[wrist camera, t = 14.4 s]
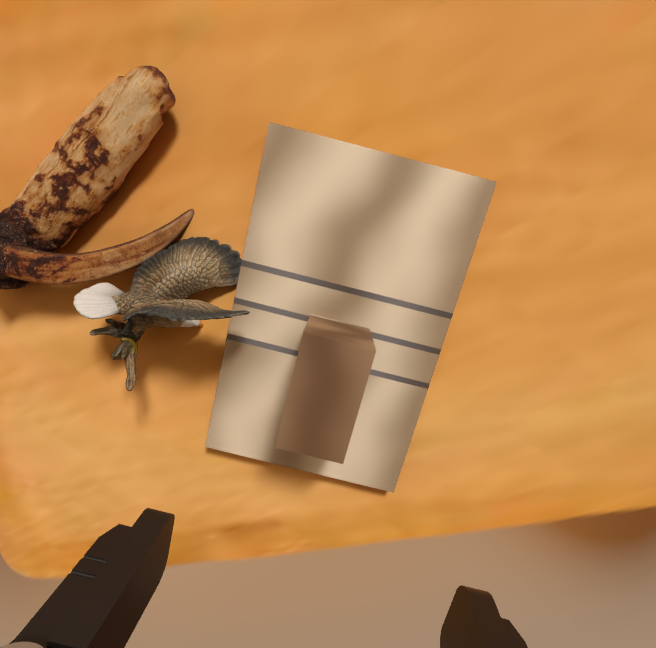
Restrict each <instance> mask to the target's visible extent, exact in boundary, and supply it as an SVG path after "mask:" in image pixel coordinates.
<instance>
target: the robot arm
mask: <svg viewBox="0 0 656 648" xmlns="http://www.w3.org/2000/svg"><path fill="white" fill-rule="evenodd" d="M174 518H175V516H174V514H171V513H166V512H162V511H158V510H154V509H150V508H147V509H145V510H144V511H143V513H142V514H141V515H140V517H139V518H138V519H137V521H136V522H135V523H134V525H133V526H132V527H129V526H125V525H121V524H119V525H117V526H115V527H114V528H112V529H111V530H109V531H108V532H106V533H105V534H103V535H102V536H100V537H99V538H98V539H97V540H96V542H95V543H94V544H93V545H92V546H91V548H90V549H89V550H88V551H87V552H86V554H85V555H84V558H82V559H81V560H80V561H79V562H78V563H77V565H76V566H75V567H74V568H73V569H72V572H71V573H70V574H68V575H67V577H66V578H65V579H64V581H63V582H62V583H61V584H60V585H59V586H58V588H57V589H56V590H55V591H54V593H53V594H52V595H51V596H50V597H49V599H48V600H47V601H46V602H45V603H44V605H43V606H42V607H41V608H40V609H39V611H38V612H37V613H36V614H35V616H34V617H33V618H32V619H31V620H30V622H29V623H28V624H27V625H26V627H25V628H24V629H23V630H22V631H21V632H20V634H19V635H18V636H17V637H16V638H15V639H14V640H13V641H12V642H11V643H10V644H8V645H5V646H2V647H0V648H124V647H125V645H126V643H127V641H128V640H129V638H130V636H131V634H132V632H133V630H134V629H135V627H136V625H137V623H138V621H139V619H140V618H141V615H142V614H143V612H144V610H145V608H146V606H147V605H148V603H149V601H150V599H151V597H152V595H153V594H154V592H155V590H156V588H157V586H158V584H159V582H160V579H161V577H162V575H163V572H164V569H165V566H166V563H167V559H168V553H169V548H170V542H171V536H172V531H173V525H174ZM440 648H528V647H527V645H526V643H525V641H524V640H523V638H522V637H521V636H520V634H519V633H518V632H517V630H516V629H515V628H514V626H513V625H512V624H511V622H510V621H509V620H507V619H503V618H501V617H500V615H499V612H498V609H497V607H496V604H495V602H494V599H493V597H492V596H491V594H490V593H489V592H486V591H482V590H478V589H474V588H470V587H465V586H459V587H458V588H457V590H456V593H455V595H454V598H453V601H452V603H451V606H450V608H449V611H448V613H447V616H446V618H445V621H444V624H443V626H442V630H441V636H440Z"/></svg>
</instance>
